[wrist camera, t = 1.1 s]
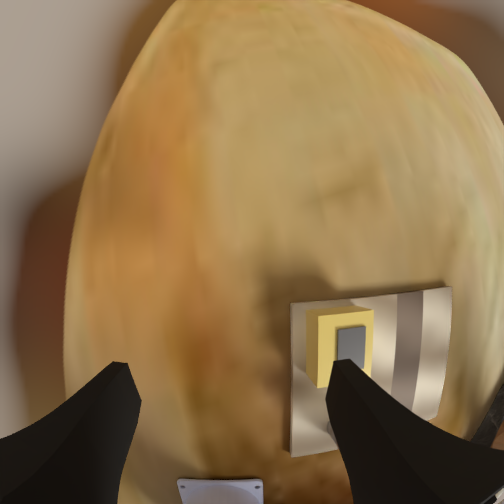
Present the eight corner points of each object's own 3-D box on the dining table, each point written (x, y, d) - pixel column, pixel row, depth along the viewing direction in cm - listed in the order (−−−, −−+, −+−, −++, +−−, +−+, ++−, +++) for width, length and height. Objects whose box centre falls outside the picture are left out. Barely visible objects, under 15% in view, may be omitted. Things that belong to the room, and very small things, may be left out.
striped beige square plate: (432, 413, 20) (436, 416, 20) (289, 452, 19) (291, 457, 19) (446, 286, 21) (452, 286, 21) (290, 302, 20) (292, 304, 19)
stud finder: (353, 366, 19) (371, 379, 16) (305, 373, 19) (318, 389, 16) (355, 305, 20) (375, 310, 17) (305, 309, 20) (319, 316, 16)
